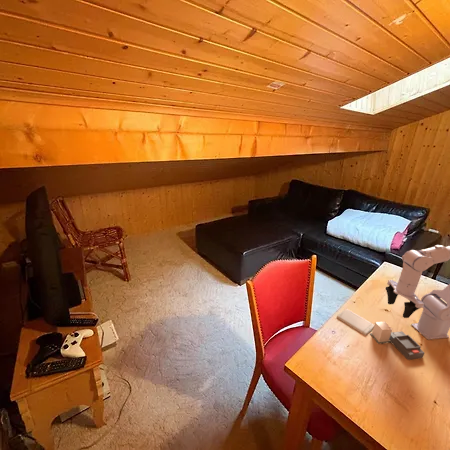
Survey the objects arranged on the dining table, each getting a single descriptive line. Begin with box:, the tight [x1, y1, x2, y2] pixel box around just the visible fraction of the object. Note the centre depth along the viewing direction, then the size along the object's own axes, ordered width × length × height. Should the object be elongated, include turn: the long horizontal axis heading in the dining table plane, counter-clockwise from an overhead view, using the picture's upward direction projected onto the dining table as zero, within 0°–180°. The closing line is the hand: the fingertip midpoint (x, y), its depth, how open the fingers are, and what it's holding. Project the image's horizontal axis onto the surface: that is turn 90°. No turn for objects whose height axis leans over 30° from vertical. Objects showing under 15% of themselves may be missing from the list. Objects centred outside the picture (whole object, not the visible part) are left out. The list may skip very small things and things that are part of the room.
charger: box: [371, 321, 393, 342], centre depth 94 cm, size 4×4×6 cm
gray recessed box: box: [389, 330, 425, 361], centre depth 90 cm, size 6×10×4 cm, turn 7°
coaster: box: [369, 332, 391, 345], centre depth 95 cm, size 5×5×1 cm
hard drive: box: [336, 308, 375, 336], centre depth 103 cm, size 2×8×12 cm
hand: (397, 310), depth 95 cm, fingers open, 7 cm apart
